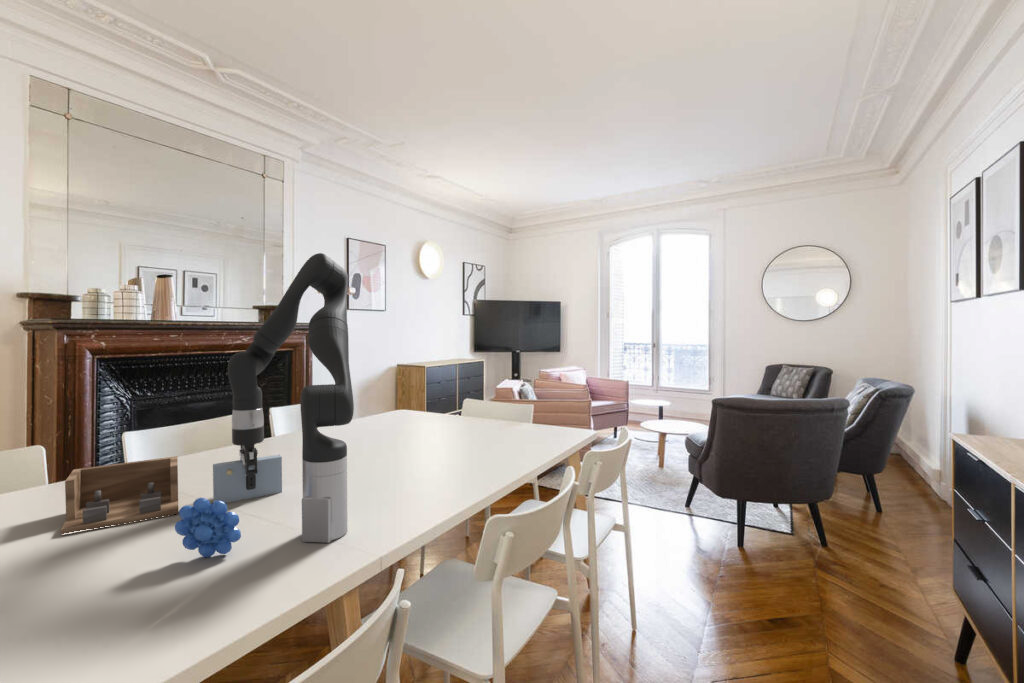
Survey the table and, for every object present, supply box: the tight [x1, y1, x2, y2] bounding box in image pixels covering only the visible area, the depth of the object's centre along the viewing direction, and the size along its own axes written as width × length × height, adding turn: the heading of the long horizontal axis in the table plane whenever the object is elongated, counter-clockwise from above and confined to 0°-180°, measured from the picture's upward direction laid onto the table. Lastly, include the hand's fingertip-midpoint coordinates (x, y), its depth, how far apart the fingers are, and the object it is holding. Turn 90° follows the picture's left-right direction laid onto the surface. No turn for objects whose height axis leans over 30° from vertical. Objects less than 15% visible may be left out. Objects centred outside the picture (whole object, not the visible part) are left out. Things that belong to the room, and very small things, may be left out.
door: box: [212, 454, 283, 503], centre depth 128 cm, size 4×16×10 cm, turn 126°
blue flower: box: [174, 497, 242, 558], centre depth 94 cm, size 12×7×12 cm, turn 104°
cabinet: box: [60, 456, 179, 535], centre depth 116 cm, size 17×21×10 cm
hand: (248, 484), depth 128 cm, fingers open, 8 cm apart
